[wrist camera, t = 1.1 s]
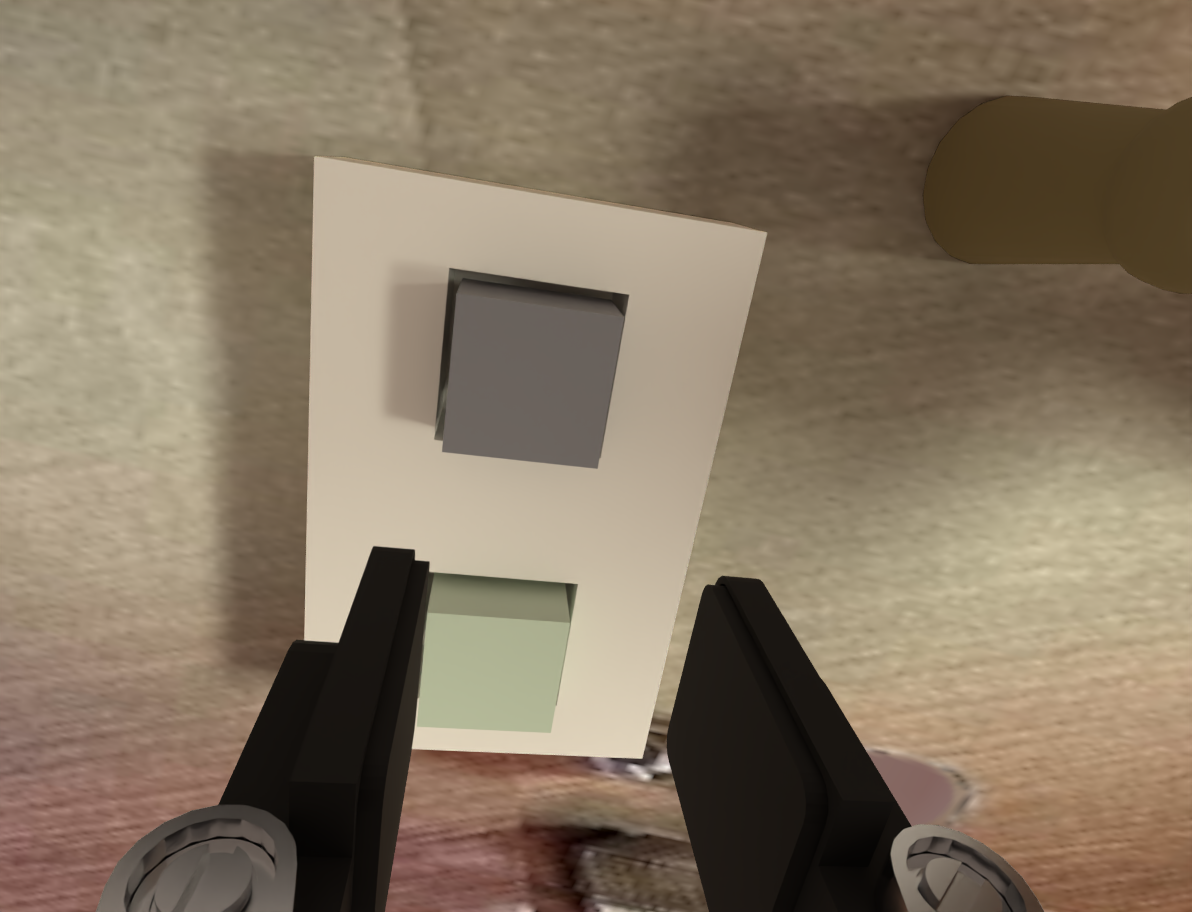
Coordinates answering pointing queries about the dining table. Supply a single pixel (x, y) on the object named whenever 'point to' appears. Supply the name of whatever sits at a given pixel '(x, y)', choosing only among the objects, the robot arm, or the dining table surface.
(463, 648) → the sage key
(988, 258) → the brown pawn
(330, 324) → the key panel
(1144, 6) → the dining table surface
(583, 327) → the charcoal key
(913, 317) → the dining table surface
